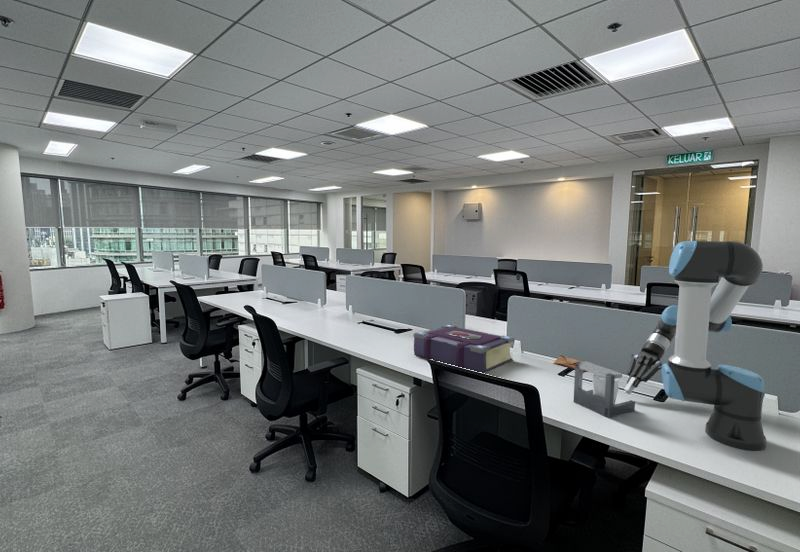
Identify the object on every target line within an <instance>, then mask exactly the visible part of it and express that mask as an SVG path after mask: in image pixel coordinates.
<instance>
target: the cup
mask: <svg viewBox="0 0 800 552" xmlns="http://www.w3.org/2000/svg"><path fill="white" fill-rule="evenodd" d="M619 379H620V378H617V379H615V382H614V398H613V405H615V404H616V401H617V396H618V392H619V386H620V383H619V381H620V380H619ZM605 386H606V378H605V377H602V376H599V375H596V374H594V373H593V376H592V390H593V394H595V395H597V396H600V397H602V398H605Z"/></svg>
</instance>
